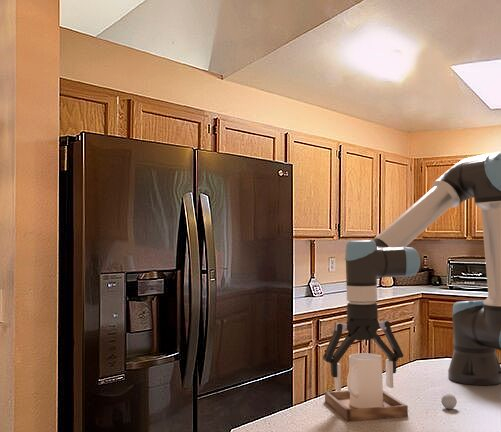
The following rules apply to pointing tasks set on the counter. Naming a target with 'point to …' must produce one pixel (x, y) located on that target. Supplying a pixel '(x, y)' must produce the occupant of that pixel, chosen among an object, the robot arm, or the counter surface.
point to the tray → (349, 413)
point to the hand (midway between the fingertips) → (364, 388)
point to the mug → (365, 380)
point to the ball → (449, 401)
